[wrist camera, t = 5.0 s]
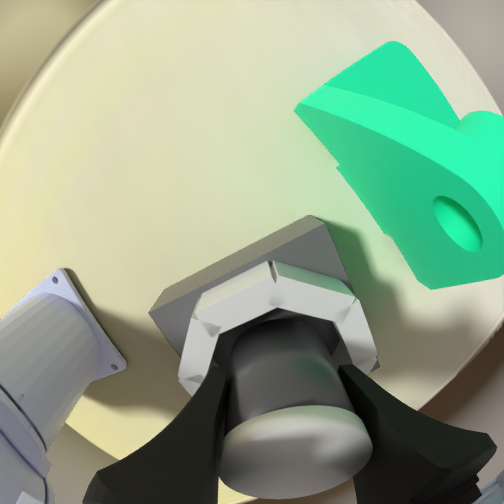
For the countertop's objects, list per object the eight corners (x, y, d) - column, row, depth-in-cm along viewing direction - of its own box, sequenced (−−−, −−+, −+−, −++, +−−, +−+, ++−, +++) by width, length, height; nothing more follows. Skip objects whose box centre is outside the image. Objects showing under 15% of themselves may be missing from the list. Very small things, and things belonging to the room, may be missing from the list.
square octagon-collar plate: (240, 395, 17) (239, 451, 12) (164, 289, 15) (134, 333, 10) (362, 340, 16) (394, 388, 12) (309, 214, 14) (340, 231, 10)
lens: (318, 394, 13) (346, 490, 7) (226, 394, 12) (219, 498, 7) (337, 317, 11) (395, 415, 6) (228, 314, 11) (215, 427, 5)
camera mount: (474, 202, 15) (589, 232, 5) (408, 274, 16) (523, 358, 6) (378, 52, 12) (482, -27, 2) (290, 115, 13) (369, 11, 3)
